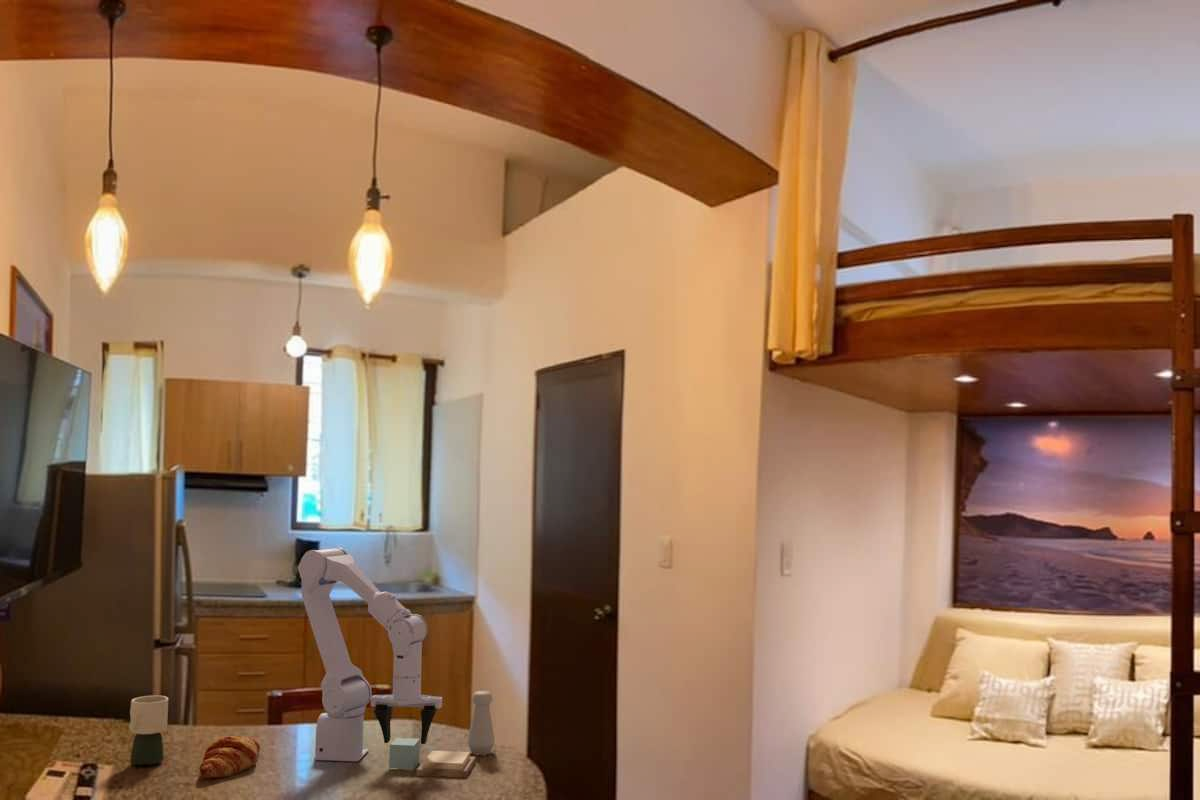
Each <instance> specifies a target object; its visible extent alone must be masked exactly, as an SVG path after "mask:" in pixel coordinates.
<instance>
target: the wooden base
mask: <svg viewBox="0 0 1200 800" xmlns="http://www.w3.org/2000/svg"><path fill="white" fill-rule="evenodd" d="M474 763H475V764H476V756H471V751H456V750H455V751H451V750H450V751H449V750H431V751H430V752H429V754H428V755H427V756H426V757H425V758H424V760H423V761H422V762H421V764H419V766H417V767H416V776H417V777H419V776H421V777H441V776H447V777H448V778H467V777H466V776H468V775H469V774H470V772H469V771H471V770H472V769H473V767H474V765H475V764H474ZM473 764H474V765H473ZM472 766H473V767H472ZM471 768H472V769H471ZM470 769H471V770H470Z"/></svg>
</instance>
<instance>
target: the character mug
mask: <svg viewBox="0 0 1200 800" xmlns="http://www.w3.org/2000/svg"><path fill="white" fill-rule="evenodd" d="M168 712H169V697H168V696H166V695H144V696H139V697H134V698H132V699H131V701H130V709H129V715H130V722H129V726H128V727H129V730H130V732H131V733H133V734H135V737H134V738H133V742H132V747H131V752H130V758H129V759H130V760H129V764H131V765H141V767H143V766H145V765H152V764H159V763H161V762H163V761H164V759H165V757H164V756H165V755H164V743H163V735H162V734H161V733H162V732H164V731H166V730H167V728H168Z"/></svg>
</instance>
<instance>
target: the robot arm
mask: <svg viewBox="0 0 1200 800" xmlns="http://www.w3.org/2000/svg"><path fill="white" fill-rule="evenodd" d="M297 570H298V573H299V576H300V578H301V579H300V580H301V591H300V593H301V599H302V601H303V602H302V603H303V604H304V607H305V611H306V614H307V617H308V621H309V624H310V626H311V630H312V632H313V636H314V639H315V643H316V645H317V648H318V651H319V654H320V658H321V660H322V663H323V667H324V670H325V675H324V677H323V678H322V680H321V683H320V688H321V691H322V692H321V693H322V697H321V698H322V699H321V703H322V706H323V708H324V710H325V712H322V713H320V715H319V716H318V718H317V721H316V727H315V746H314V747H315V749H314V750H315V753H314V757H313V760H315V761H335V762H359V761H360V760H362V758H363V757H364V756H365V755H367V753H368V752H369V750H370V749H368V748H364V727H365V726H364V723H365V722H364V719H365V718H364V717H365V711H366V706H367V705H368V704H369V703H370V707H373V708H375V709H374V715H375V717H376V719H377V722H378V723H379V726H380V728H381V732H382V736H383V743H384V744H388V743H389V742H390V741H391V736H392V735H391V718H392V711H393V707H399V708H400V707H405V708H406V707H407V708H410V707H411V708H422V709H421V710H420V717H421V718H420V719H421V721H420V722H421V735H420V745H426V743H427V742H428V735H429V731H430V728H431V725H432V722H433V720H434V717H435V715H436V712H437V710H438V709H441V708H442V707H443V697H442V696H432V695H425V694H422V690H421V689H422V658H423V657H422V655H423V654H422V653H423V651H422V650H423V641H424V640H425V638H426V637H427V635H428V631H429V630H428V624H427V622H426V620H425V619H424V617H423V615H420V614H417V613H414V614H413V613H411V612H412V611H411V610H410V609H409V608H405V606H404V605H402V603H400V601H398V600H397V599H396V598H397V595H395V594H394V593H393V592H391V593H390V592H389V591H380V590H379V589H378V588H377V587H376V585H375V584H374V583H373V582H372V581H371V579H369V578H368V577H367V575H365V573H364V572H363V571H362V570H361V569H360V568H359V566H357V564H356V562H355V560H354V556H352V555H351V554H349V553H348V551H346V550H345V548H342V547H333V548H325V549H319V550H317V549H311V550H308V551H306V552H305V553H304V554H303V556H302V557H301V560H300V561H299V564H298V566H297ZM338 582H342V583H344V584H345V585H346V586H347V587H348V588H349V589H350V590H351V591H352V592H354V593H355V594H356V595H357V596H359V598H361V599H362V600H363V601H364V602H366V604H367V605H368V606H367V610H368V613H369V614H370V615H371V616H372V617H373V618H374V619H375V620H376V621H377V622H378V623H379V624H380V625H381V626H382V627H384V629H385V630H386V631H387V636H388V639H389V642H390V643H391V645H392V652H393V667H392V668H393V672H392V694H375V695H373V693H372V686H371V685H370V683H369V682H368V680H367V679H366V678H365V676H364V674H363V672H362V669H360V668H359V667H358V666H356V665H354V664H353V663H352V661H351V658H350V655H349V651H348V649H347V645H346V643H345V639H344V636H343V633H342V630H341V627H340V624H339V621H338V618H337V617H338V616H337V615H336V611H335V609H334V608H335V607H334V606H333V601H332V599H331V596H330V594H331V593H332V590H333V588H334V587H335V586H336V585H337V583H338Z"/></svg>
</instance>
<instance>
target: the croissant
mask: <svg viewBox="0 0 1200 800" xmlns="http://www.w3.org/2000/svg"><path fill="white" fill-rule="evenodd" d="M261 746H262V744H261V741H259V740H256V739H254V738H251V737H245V736H243V735H239V736H234V735H228V736H222V737H220V738H218V739H215V740H213V741H212V743H210V745H208V746H207V748H206V750H205V752H204V756H203V759H202V762H201V764H200V766H199V770H198V771H199V773H200V774H201V775H202V776H203V777H204V778H206V779H210V778H216V779H217V778H226V776H228V777H230V776H232V775H235V774H234V773H236V774H239V773H241V772H244V771H245V770H247V769H249V767H250V768H251V767H252V766H253V765H255V764H256V763H257V761H258V760H259V753H260V751H261ZM243 770H244V771H243Z"/></svg>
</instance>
